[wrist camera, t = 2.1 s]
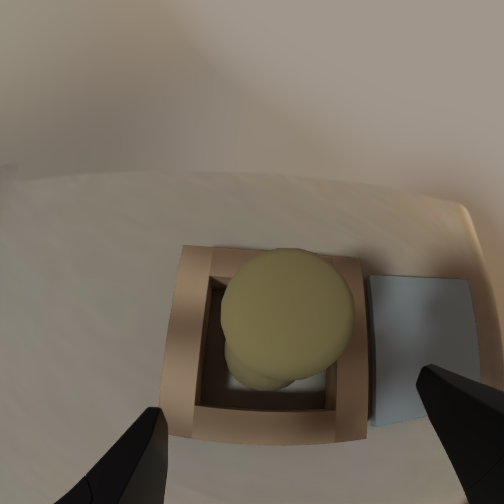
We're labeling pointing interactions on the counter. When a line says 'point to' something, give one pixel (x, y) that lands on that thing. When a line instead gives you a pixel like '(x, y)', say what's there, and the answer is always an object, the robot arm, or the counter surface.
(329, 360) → the cork
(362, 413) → the frame
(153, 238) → the counter surface
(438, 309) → the blue gray mat
